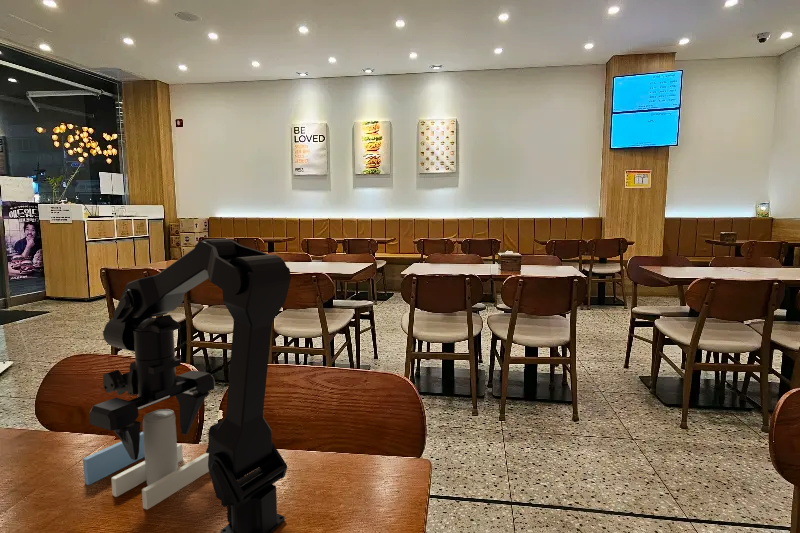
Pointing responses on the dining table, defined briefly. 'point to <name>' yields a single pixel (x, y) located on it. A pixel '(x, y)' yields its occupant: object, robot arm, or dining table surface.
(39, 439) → the dining table surface
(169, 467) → the beverage can
